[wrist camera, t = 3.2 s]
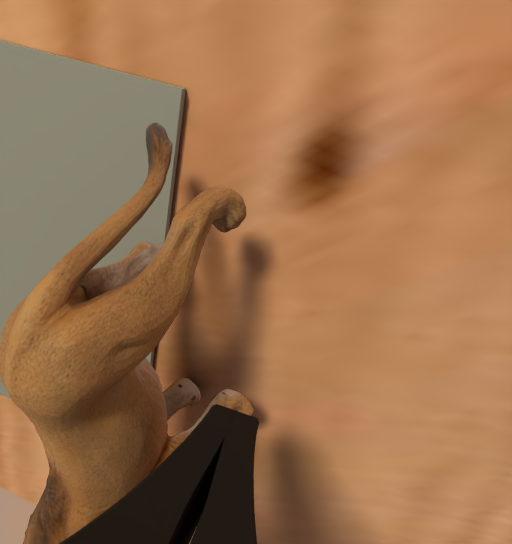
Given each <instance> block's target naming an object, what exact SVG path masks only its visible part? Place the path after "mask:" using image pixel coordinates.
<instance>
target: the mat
mask: <svg viewBox="0 0 512 544" xmlns="http://www.w3.org/2000/svg"><path fill="white" fill-rule="evenodd" d="M185 92H186V88H182V87H178V86H174V85H171V84H167V83H163V82H159V81H155V80H152V79H148V78H144V77H140V76H136V75H132V74H129V73H125V72H121V71H117V70H113V69H109V68H106V67H102V66H98V65H94V64H90V63H87V62H83V61H79V60H75V59H71V58H67V57H64V56H60V55H56V54H52V53H48V52H44V51H41V50H37V49H33V48H29V47H25V46H22V45H18V44H14V43H10V42H6V41H2V40H0V341H1V334H2V332H3V329H4V326H5V323H6V321H7V319H8V318H9V316H10V314H11V313H12V311H13V310H14V309H15V308H16V307H17V306H18V305H19V304H20V303H21V302H22V301H23V300H24V299H25V298H26V297H27V296H28V295H29V294H30V293H31V292H32V290H33V289H34V288H35V286H36V285H37V284H38V283H39V282H40V281H41V280H42V279H43V278H44V277H45V276H46V275H47V274H48V273H49V272H50V271H51V270H52V268H53V267H54V266H55V265H56V264H57V263H58V262H59V261H60V260H61V259H62V258H63V257H64V256H65V255H66V254H67V253H68V252H69V251H71V250H72V249H73V248H74V247H75V246H76V245H77V244H79V243H80V242H81V241H82V240H83V239H84V238H86V237H87V236H88V235H89V234H90V233H92V232H93V231H94V230H95V229H96V228H97V227H99V226H100V225H101V224H103V223H104V222H105V221H106V220H107V219H109V218H110V217H111V216H112V215H113V214H115V213H116V212H117V211H118V210H119V209H120V208H121V207H122V206H124V205H125V204H126V203H127V202H128V201H129V200H130V199H131V198H132V197H133V196H134V195H135V194H136V193H137V192H138V191H139V190H140V189H141V187H142V186H143V184H144V182H145V180H146V178H147V176H148V168H149V164H148V152H147V147H146V128H147V127H148V126H149V125H150V124H151V123H159V124H161V125H162V126H163V127H164V128H165V130H166V133H167V135H168V138H169V140H170V141H171V142H172V144H173V147H172V155H171V163H170V167H169V170H168V172H167V175H166V180H165V183H164V185H163V188H162V190H161V192H160V194H159V195H158V197H157V198H156V199H155V201H154V202H153V204H152V205H151V206H150V207H149V209H148V210H147V211H146V213H145V214H144V215H143V217H142V218H141V219H140V220H139V221H138V222H137V223H136V224H135V225H134V226H133V227H132V228H131V229H130V230H129V232H128V233H127V234H126V235H125V236H124V237H123V238H122V239H121V240H120V242H119V243H118V244H117V245H116V246H115V247H114V248H113V249H112V250H111V251H110V252H109V253H108V254H107V255H106V256H105V257H103V258H102V259H101V260H100V261H99V262H98V263H97V264H96V265H95V266H94V267H93V268H92V269H96V268H100V267H105V266H108V265H112V264H114V263H117V262H119V261H121V260H123V259H124V258H126V257H127V255H128V254H129V253H130V252H131V251H132V249H133V248H134V247H135V246H136V245H137V244H139V243H141V242H150V243H155V244H164V242H165V240H166V237H167V235H168V232H169V225H170V217H171V208H172V200H173V192H174V183H175V175H176V167H177V158H178V150H179V142H180V133H181V125H182V117H183V108H184V100H185ZM154 350H155V348H154V349H153V350H152V352H151V353H150V354H149V355H148V356H147V357H146V359H147V360H148V362H149V363H150V364H151V365H152V367H153V358H154ZM0 394H1V395H3V396H6V397H9V398H10V396H9V394H8V391H7V390H6V388H5V386H4V385H3V383H2V380H1V377H0Z"/></svg>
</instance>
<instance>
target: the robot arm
mask: <svg viewBox="0 0 512 544" xmlns="http://www.w3.org/2000/svg"><path fill="white" fill-rule="evenodd" d="M258 425H259V421H258V419H257V418H256V417H253V416H250V415H247V414H244V413H241V412H238V411H236V410H233V409H230V408H227V407H224V406H221V405H218V404H215V405H212V406H211V408H210V409H209V411H208V412H207V414H206V415H205V416H204V418H203V419H202V420H201V421H200V423H199V424H198V425H197V426H196V427H195V429H194V430H193V431H192V432H191V433H190V434H189V435H188V436H187V438H186V439H185V440H184V441H183V442H182V443H181V444H180V445H179V446H178V447H177V448H176V449H175V450H174V451H173V452H172V453H171V454H170V455H169V456H168V457H167V458H166V459H165V460H164V461H163V462H162V463H161V464H160V465H159V466H158V467H157V468H156V469H155V470H154V471H152V472H151V473H150V474H149V475H148V476H147V477H146V478H145V479H144V480H143V481H142V482H140V483H139V484H138V485H137V486H136V487H135V488H133V489H132V490H131V491H130V492H129V493H127V494H126V495H125V496H124V497H123V498H121V499H120V500H119V501H118V502H116V503H115V504H114V505H113V506H111V507H110V508H109V509H107V510H106V511H105V512H103V513H102V514H101V515H99V516H98V517H97V518H95V519H94V520H93V521H91V522H90V523H88V524H87V525H86V526H84V527H83V528H81V529H80V530H79V531H77V532H76V533H74V534H73V535H71V536H70V537H68V538H67V539H65V540H64V541H62V542H61V543H59V544H189V542H190V540H191V538H192V536H193V534H194V536H193V538H192V541H191V543H190V544H257V540H256V529H255V514H254V481H253V471H254V450H255V441H256V434H257V429H258ZM197 525H198V526H197ZM196 527H197V528H196ZM195 529H196V531H195ZM194 531H195V533H194Z"/></svg>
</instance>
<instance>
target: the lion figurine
mask: <svg viewBox="0 0 512 544" xmlns="http://www.w3.org/2000/svg"><path fill="white" fill-rule="evenodd" d="M146 147H147V152H148V164H149V168H148V176H147V178H146V180H145V182H144V184H143V186H142V187H141V189H140V190H139V191H138V192H137V193H136V194H135V195H134V196H133V197H132V198H131V199H130V200H129V201H128V202H127V203H126V204H125V205H124V206H122V207H121V208H120V209H119V210H118V211H117V212H116V213H115V214H113V215H112V216H111V217H110V218H109V219H107V220H106V221H105V222H104V223H103V224H101V225H100V226H99V227H97V228H96V229H95V230H94V231H93V232H92V233H90V234H89V235H88V236H87V237H86V238H84V239H83V240H82V241H81V242H80V243H79V244H77V245H76V246H75V247H74V248H73V249H72V250H71V251H69V252H68V253H67V254H66V255H65V256H64V257H63V258H62V259H61V260H60V261H59V262H58V263H57V264H56V265H55V266H54V267H53V268H52V270H51V271H50V272H49V273H48V274H47V275H46V276H45V277H44V278H43V279H42V280H41V281H40V282H39V283H38V284H37V285H36V286H35V288H34V289H33V290H32V292H31V293H30V294H29V295H28V296H27V297H26V298H25V299H24V300H23V301H22V302H21V303H20V304H19V305H18V306H17V307H16V308H15V309H14V310H13V311H12V313H11V314H10V316H9V318H8V319H7V321H6V323H5V326H4V329H3V332H2V334H1V341H0V377H1V380H2V383H3V385H4V386H5V388H6V390H7V391H8V394H9V396H10V398H11V399H12V401H13V402H14V403H15V404H16V405H17V406H18V407H19V408H20V409H21V410H22V411H23V412H24V413H25V414H26V415H27V416H28V418H29V419H30V420H31V421H32V423H33V424H34V426H35V428H36V430H37V432H38V434H39V436H40V438H41V440H42V442H43V445H44V448H45V452H46V455H47V458H48V462H49V467H50V472H49V476H48V479H47V484H46V488H45V490H44V492H43V494H42V496H41V499H40V501H39V503H38V505H37V507H36V508H35V510H34V512H33V514H32V515H31V516H30V520H29V524H28V528H27V530H26V532H25V539H24V542H23V544H59V543H61V542H62V541H64V540H65V539H67V538H68V537H70V536H71V535H73V534H74V533H76V532H77V531H79V530H80V529H81V528H83V527H84V526H86V525H87V524H88V523H90V522H91V521H93V520H94V519H95V518H97V517H98V516H99V515H101V514H102V513H103V512H105V511H106V510H107V509H109V508H110V507H111V506H113V505H114V504H115V503H116V502H118V501H119V500H120V499H121V498H123V497H124V496H125V495H126V494H127V493H129V492H130V491H131V490H132V489H133V488H135V487H136V486H137V485H138V484H139V483H140V482H142V481H143V480H144V479H145V478H146V477H147V476H148V475H149V474H150V473H151V472H152V471H154V470H155V469H156V468H157V467H158V466H159V465H160V464H161V463H162V462H163V461H164V460H165V459H166V458H167V457H168V456H169V455H170V454H171V453H172V452H173V451H174V450H175V449H176V448H177V447H178V446H179V445H180V444H181V443H182V442H183V441H184V440H185V439H186V438H187V436H188V435H189V434H190V433H191V432H192V431H193V430H194V429H195V427H196V426H197V425H198V424H199V423H200V421H201V420H202V419H203V418H204V416H205V415H206V414H207V412H208V411H209V409H210V408H211V406H212V405H215V404H218V405H221V406H224V407H227V408H230V409H233V410H236V411H238V412H241V413H244V414H247V415H250V416H251V415H252V414H253V412H254V409H253V407H252V405H251V403H250V402H249V401H248V399H247V398H246V397H245V396H244V395H243V394H241V393H240V392H237V391H234V390H232V389H225V390H222V391H221V392H220V393H219V394H218V395H217V396H216V397H215V398H214V399H213V400H212V401H211V402H210V403H209V405H208V406H207V408H206V410H205V412H204V413H203V414H202V416H201V417H200V418H199V419H198V420H197V421H196V422H195V424H194V425H193V426H192V427H191V428H190V429H188V430H187V431H184V432H181V433H178V434H176V435H175V436H173V437H170V436H168V434H167V429H168V425H167V421H168V419H169V418H170V417H171V416H172V415H173V414H174V413H176V412H177V411H178V410H179V409H181V408H183V407H185V406H187V405H190V406H194V405H196V404H197V403H198V402H199V400H200V391H199V389H198V387H197V386H196V385H195V384H194V383H193V382H192V381H191V380H190V379H187V378H180V379H178V380H177V381H176V382H175V383H173V384H172V385H171V386H170V387H169V388H167V389H166V390H165V391H164V392H162V387H161V383H160V380H159V377H158V375H157V373H156V372H155V370H154V368H153V367H152V365H151V364H150V363H149V362H148V360H147V359H146V357H147V356H148V355H149V354H150V353H151V352H152V350H153V349H154V348H155V347H156V346H157V345H158V344H159V342H160V341H161V339H162V338H163V336H164V335H165V333H166V331H167V330H168V328H169V327H170V325H171V324H172V322H173V321H174V319H175V317H176V316H177V314H178V312H179V311H180V309H181V307H182V306H183V304H184V302H185V300H186V297H187V294H188V292H189V289H190V286H191V283H192V280H193V276H194V272H195V269H196V266H197V263H198V260H199V256H200V252H201V249H202V247H203V244H204V241H205V238H206V236H207V234H208V231H209V229H210V227H211V225H212V224H213V225H214V226H215V227H216V228H217V229H218V230H220V231H221V232H224V233H225V232H228V231H230V230H231V229H234V228H237V227H238V226H239V225H240V224H241V222H242V221H243V220H244V219H245V217H246V206H245V203H244V200H243V198H242V197H241V195H240V194H238V193H237V192H236V191H234V190H232V189H230V188H226V187H211V188H208V189H205V190H204V191H202V192H201V193H200V194H198V195H197V196H196V197H195V198H193V199H192V200H191V201H190V202H189V203H188V204H187V205H186V206H185V207H183V208H182V209H181V210H180V211H179V212H178V213H177V214H176V215H175V216H174V218H173V220H172V222H171V226H170V229H169V232H168V235H167V237H166V240H165V242H164V244H155V243H150V242H141V243H139V244H137V245H136V246H135V247H134V248H133V249H132V251H131V252H130V253H129V254H128V255H127V257H126V258H124V259H123V260H121V261H119V262H117V263H114V264H112V265H108V266H105V267H100V268H96V269H92V268H93V267H94V266H95V265H96V264H97V263H98V262H99V261H100V260H101V259H102V258H103V257H105V256H106V255H107V254H108V253H109V252H110V251H111V250H112V249H113V248H114V247H115V246H116V245H117V244H118V243H119V242H120V240H121V239H122V238H123V237H124V236H125V235H126V234H127V233H128V232H129V230H130V229H131V228H132V227H133V226H134V225H135V224H136V223H137V222H138V221H139V220H140V219H141V218H142V217H143V215H144V214H145V213H146V211H147V210H148V209H149V207H150V206H151V205H152V204H153V202H154V201H155V199H156V198H157V197H158V195H159V194H160V192H161V190H162V188H163V185H164V183H165V180H166V175H167V172H168V170H169V167H170V163H171V155H172V147H173V144H172V142H171V141H170V140H169V138H168V135H167V133H166V130H165V128H164V127H163V126H162V125H161V124H159V123H151V124H150V125H149V126H148V127H147V128H146Z"/></svg>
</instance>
